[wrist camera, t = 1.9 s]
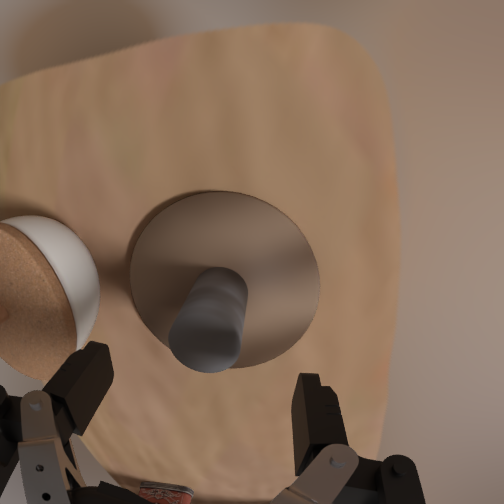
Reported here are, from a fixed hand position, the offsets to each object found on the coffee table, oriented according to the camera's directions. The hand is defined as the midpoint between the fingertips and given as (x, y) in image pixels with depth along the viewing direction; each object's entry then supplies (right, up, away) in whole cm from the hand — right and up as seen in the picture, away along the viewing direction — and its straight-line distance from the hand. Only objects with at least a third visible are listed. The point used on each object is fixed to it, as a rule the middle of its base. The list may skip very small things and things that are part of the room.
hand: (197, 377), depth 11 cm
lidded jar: (-13, +4, +10) cm, 16 cm away
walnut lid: (0, +3, +9) cm, 10 cm away
